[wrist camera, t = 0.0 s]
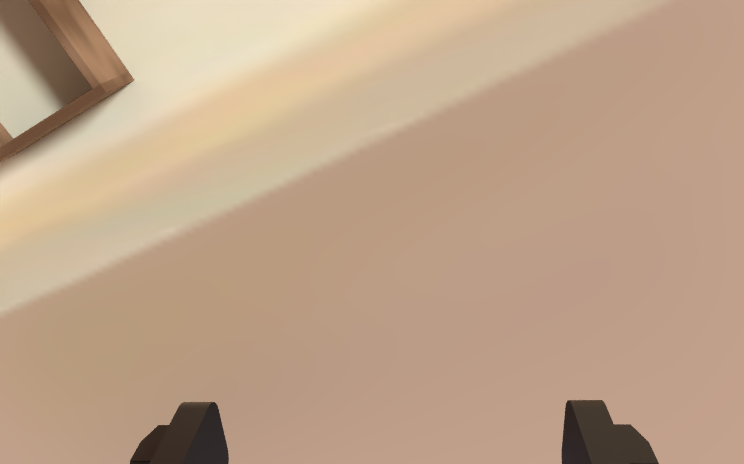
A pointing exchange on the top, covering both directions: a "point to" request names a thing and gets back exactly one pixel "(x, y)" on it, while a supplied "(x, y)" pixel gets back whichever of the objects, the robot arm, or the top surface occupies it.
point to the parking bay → (89, 55)
